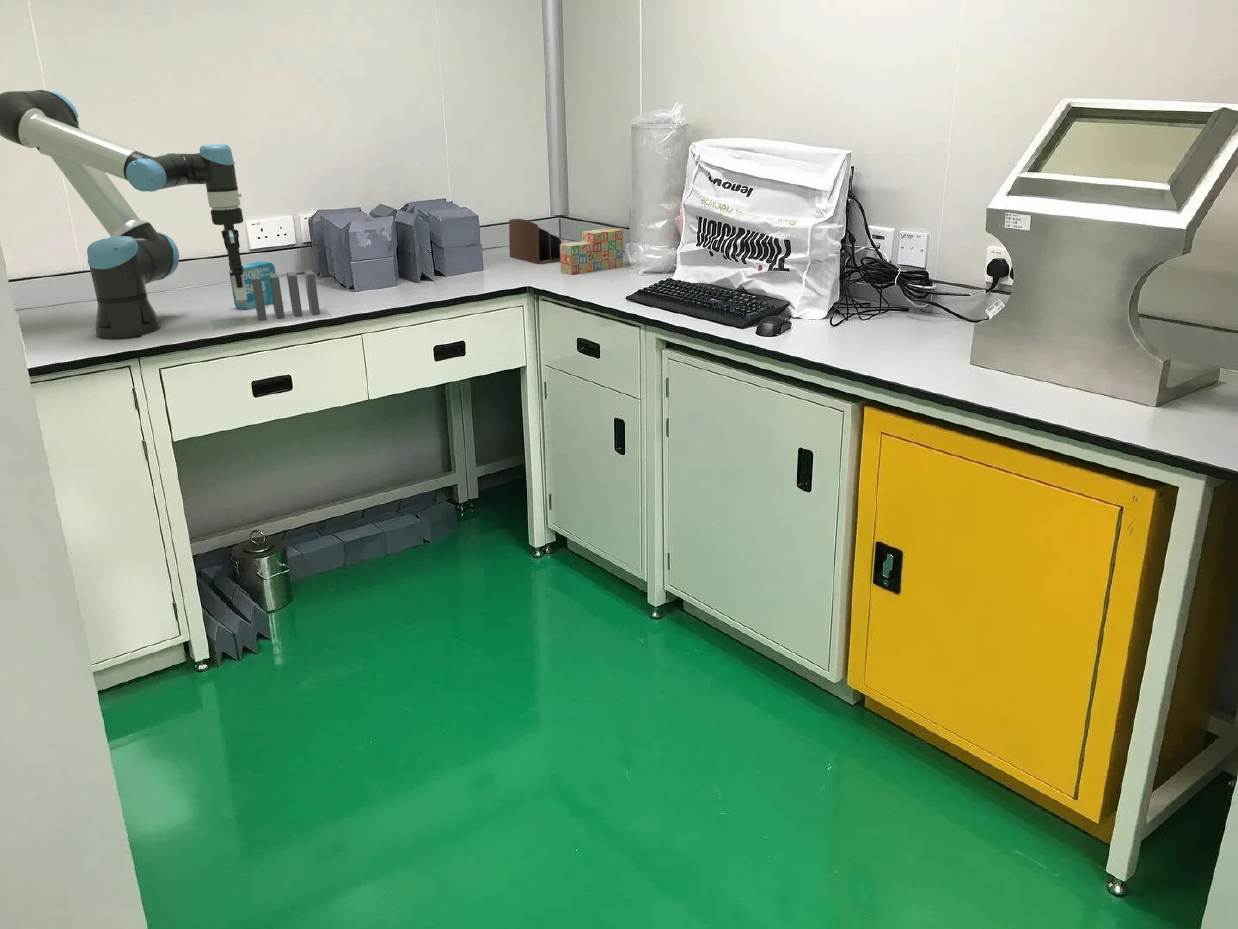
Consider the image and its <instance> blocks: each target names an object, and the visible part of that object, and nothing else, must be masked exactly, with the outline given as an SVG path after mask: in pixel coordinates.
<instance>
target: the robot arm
mask: <svg viewBox="0 0 1238 929" xmlns="http://www.w3.org/2000/svg"><path fill="white" fill-rule="evenodd" d="M79 125H80V120H79V114H78V111H77V109H76V107H75V106H74V104H73V103H72V101H70V100H69V99H68V98H67V97H66V96H65V95H63V94H61V93H58V92H56V91H53V90H52V91H51V90H47V89H46V90H45V89H36V90H27V91H26V90H21V91H18V90H17V91H15V90H12V91H4V92H1V93H0V136H1V137H2V138H4V139H6V141H7V140H8V141H9V142H12V143H15V144H16V145H20V146H22V147H25V148H28V149H34V148H35V149H37V151H38V152H39V153H40V154H41V155H45V156H49V157H50V158H51V159H52V160H53V162H54V163H55V164H56V166H57V167H58V168H59V170H60V171H61V172H62V175H64V177H65V178H66V179H67V180H68V181H69V183H70V184H71V186H72V187H73V189H75V191H76V192H77V193H78V195H79V196H80V198H81V199H82V200H83V201H84V203H85V205H86V206H87V207H88V208H89V210H90V211H91V212H92V213H93V215H94V216H95V218H96V219H97V221H99V223H100V224H101V226H102V227H103V228H104V229H105V231H106V232H107V233H108V235H109V236H110V237H108V238H107V237H106V238H101V239H98V240H95V241H93V242H92V243H89V245H88V246H87V249H86V254H87V255H86V256H87V263H88V266H89V269H90V275H91V279H92V284H93V288H94V293H95V296H96V301H97V310H96V318H95V319H96V320H95V325H94V327H95V328H94V329H95V332H96V333H95V334H96V337H98V338H101V339H109V340H111V339H115V340H116V339H129V338H137V337H142V336H145V335H148V334H151V333H154V332H157V331H160V329H161V328H162V327H161V320H160V319H159V316H158V315H157V313H156V311H155V310H154V308H153V306H152V304H151V303H150V300H149V299H148V293H147V288H146V285H147V284H151V283H153V282H155V281H161V280H164V279H165V278H167V277H168V276H171V275H172V274H173V273H175V271H176V270H177V268H178V265H179V263H180V262H179V260H180V259H179V258H180V252H179V248H178V247H177V244H176V242H175V241H174V240H173V239H172V238H171V237H170V236H168V235H167V234H164V233H162V232H158V231H157V230H156V228H154V226H153V225H152V224H151V222H149V221H147V220H142V219H141V218H139V216H138V215H137V214H136V212H135V211H134V209H133V208H132V207H131V205H130V204H129V203H128V201H127V200H126V199H125V197H124V196H123V194H122V193H121V192H120V191H119V189H118V188H117V186H116V185H115V184H114V183H113V181H112V180H111V179H110V177H109V176H108V174H109V175H112V176H114V177H116V178H119V179H123V180H125V181H128V182H129V184H130V185H131V186H132V187H133V188H134V189H135V190H137V191H140V192H157V191H159V190H164V189H168V188H169V189H170V188H175V187H180V186H186V185H205V187H206V195H207V201H208V205H209V208H211V210H210V216H211V222H212V225H215V226H223V230H221V237H222V239H223V244H224V247H225V249H226V252H227V259H228V266H229V270H230V269H231V270H232V271H231V273H229V277H230V276H231V277H232V283H233V288H234V294H235V296H236V300H247V294H246V288H245V282H244V276H243V270H242V269H243V266H242V265H243V264H242V258H241V255H240V253H241V252H240V248H241V247H240V246H241V245H240V239H239V237H240V236H239V230H238V229H235V225H237V224H242V223H243V222H244V216H243V209H242V208H241V207H240V206H241V199H240V198H242V193H240V192H239V190H238V189H239V187H238V180H237V174H236V168H235V160H234V157H233V152H232V148H231V147H230V145H228V144H223V143H222V144H221V143H220V144H219V143H218V144H203V145H200V146H199V153H176V152H175V153H173V152H172V153H166V154H165V153H164V154H160V155H159V156H151V155H149V154H146V153H143V152H140V151H138V150H135V149H133V148H129V147H128V146H125V145H122V144H121V143H120V144H119V143H117V142H114V141H111V140H109V139H106V138H103V137H101V136H98V135H95V134H93V133H90V132H87V131H85V130H83V129H81V128H80V126H79Z"/></svg>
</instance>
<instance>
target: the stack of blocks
mask: <svg viewBox="0 0 1238 929" xmlns="http://www.w3.org/2000/svg"><path fill="white" fill-rule="evenodd" d="M623 238H624V237H623V229H617V228H611V227H610V228H599V229H593V230H586V231H582V232H581V240H580V241H572V242H565V243H562V244H560V262H559V263H560V264H559V265H560V266H559V267H560V273H563V274H566V275H570V276H573V275H579V274H586V273H593V272H597V271H598V270H599V271H605V270H610V269H616V268H623V267H624V240H623Z"/></svg>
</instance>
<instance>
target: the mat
mask: <svg viewBox="0 0 1238 929" xmlns="http://www.w3.org/2000/svg"><path fill="white" fill-rule="evenodd" d="M319 310H320V314H319V315H312V314H311V312H310V310H309V308H308V309H302V315H303V316H301V317H295V316H294V315H293V313H292V310H290V311H284V315H285V318H282V319H277V318H276V316H275V312H271V313H266V317H267V320H263V321H259V319H258V317H257V314H253V315H252V314H251V315H244V316H243V315H241V316H231V317H222V318H212V319H210V320H211V321H210V322H211V325H212V329H213V330H218V329H219V330H220V329H228V328H229V329H230V328H236V327H237V328H238V327H245V326H255V325H265V324H266V325H267V324H273V323H274V324H275V323H276V322H277V323H282V322H283V323H284V322H294V321H303V320H304V319H305V320H311V319H321V318H329V317H330V318H331V317H333V316H332V315H331V313H330V311H329V310H328V309H327V308H326V307H319ZM301 319H302V320H301ZM305 320H304V321H305ZM277 323H276V324H277Z"/></svg>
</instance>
